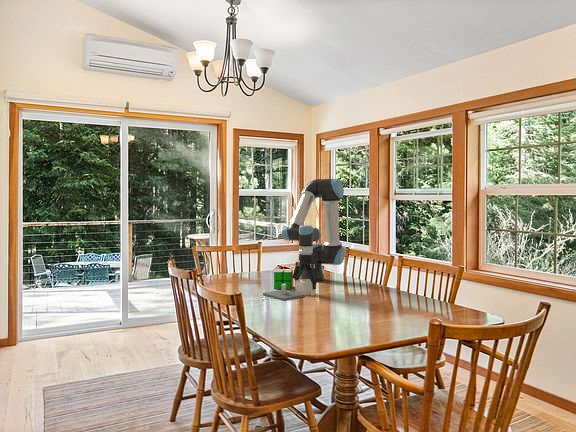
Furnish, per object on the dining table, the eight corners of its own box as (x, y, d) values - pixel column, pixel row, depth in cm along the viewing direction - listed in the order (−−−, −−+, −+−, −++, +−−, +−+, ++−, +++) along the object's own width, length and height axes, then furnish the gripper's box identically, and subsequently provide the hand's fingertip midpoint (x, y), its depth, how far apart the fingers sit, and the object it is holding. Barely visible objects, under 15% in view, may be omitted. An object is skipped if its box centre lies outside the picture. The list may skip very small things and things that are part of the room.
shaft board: (284, 291, 256) (284, 280, 256) (304, 296, 243) (304, 285, 243) (262, 295, 246) (262, 283, 246) (283, 300, 233) (283, 288, 233)
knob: (307, 292, 255) (307, 277, 255) (314, 293, 251) (314, 278, 251) (296, 293, 250) (296, 278, 250) (303, 295, 246) (303, 280, 246)
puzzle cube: (292, 286, 272) (292, 269, 272) (291, 289, 262) (291, 272, 262) (276, 285, 273) (276, 269, 273) (273, 289, 263) (274, 271, 263)
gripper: (286, 252, 256) (285, 290, 257) (316, 256, 238) (315, 297, 239) (296, 251, 261) (295, 289, 262) (326, 255, 243) (325, 296, 244)
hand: (305, 293), depth 251 cm, fingers open, 11 cm apart
